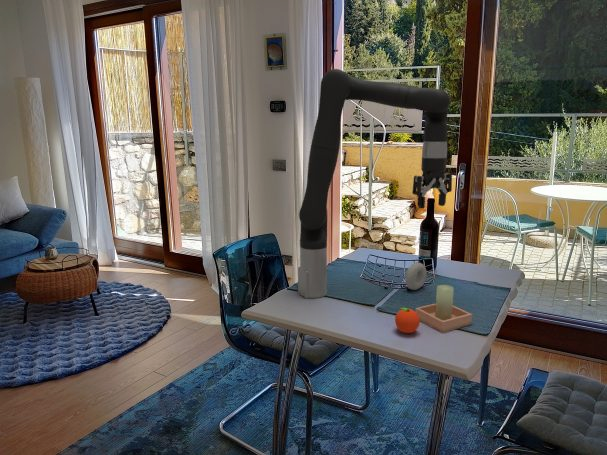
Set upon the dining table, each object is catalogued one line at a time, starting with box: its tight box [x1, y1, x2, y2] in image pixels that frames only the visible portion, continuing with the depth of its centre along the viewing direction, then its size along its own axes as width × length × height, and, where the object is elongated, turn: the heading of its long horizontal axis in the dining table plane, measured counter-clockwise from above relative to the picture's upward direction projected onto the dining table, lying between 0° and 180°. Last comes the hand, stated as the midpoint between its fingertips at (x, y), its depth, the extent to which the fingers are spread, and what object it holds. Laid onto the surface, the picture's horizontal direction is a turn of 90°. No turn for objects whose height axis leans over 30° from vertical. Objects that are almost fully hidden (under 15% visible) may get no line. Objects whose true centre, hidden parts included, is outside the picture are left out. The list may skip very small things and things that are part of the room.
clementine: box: [394, 307, 421, 334], centre depth 137 cm, size 8×7×7 cm
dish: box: [414, 302, 473, 334], centre depth 144 cm, size 12×12×3 cm
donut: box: [404, 262, 428, 291], centre depth 170 cm, size 10×4×10 cm, turn 130°
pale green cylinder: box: [435, 284, 455, 321], centre depth 143 cm, size 5×5×10 cm
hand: (431, 206), depth 153 cm, fingers open, 8 cm apart
